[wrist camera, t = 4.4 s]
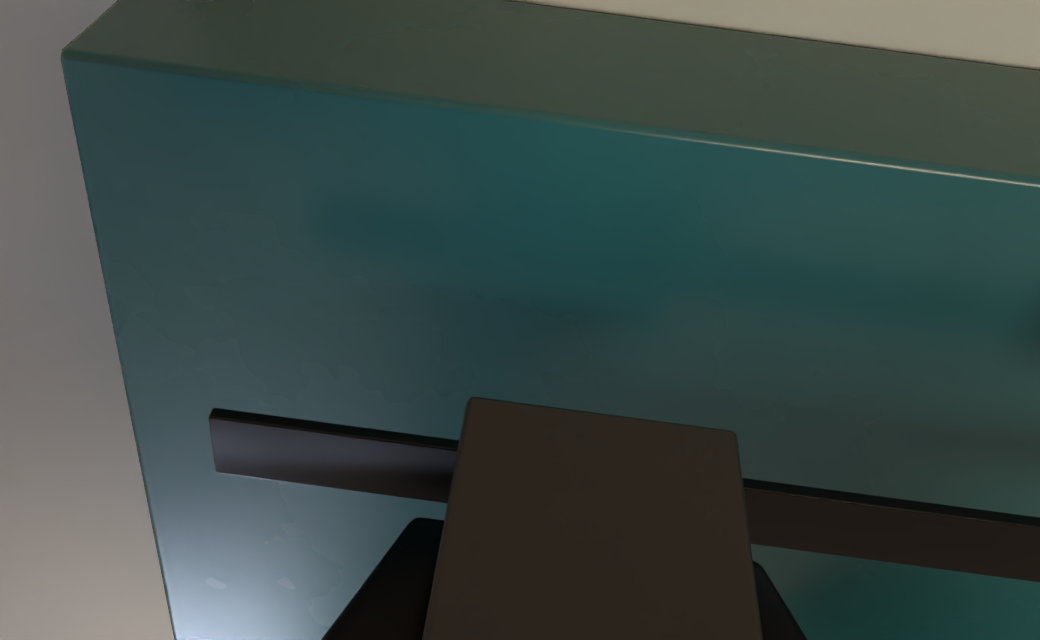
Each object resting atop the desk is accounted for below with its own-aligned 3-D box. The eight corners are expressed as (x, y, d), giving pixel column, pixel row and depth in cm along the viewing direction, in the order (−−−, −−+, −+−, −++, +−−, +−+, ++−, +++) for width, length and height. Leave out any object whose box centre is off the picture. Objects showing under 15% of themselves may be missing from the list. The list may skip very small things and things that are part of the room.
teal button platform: (1041, 745, 21) (1138, 1021, 17) (247, 639, 21) (159, 889, 17) (1547, 134, 12) (1994, 416, 8) (166, -47, 12) (-56, 145, 8)
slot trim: (1273, 603, 10) (1281, 615, 10) (219, 463, 10) (214, 473, 10) (1467, 397, 8) (1480, 410, 8) (190, 227, 8) (185, 238, 8)
